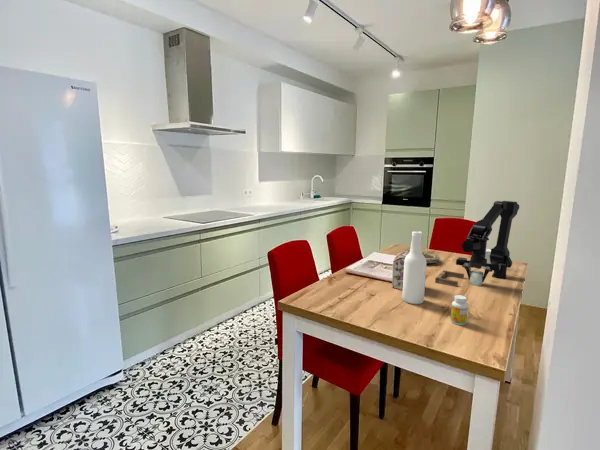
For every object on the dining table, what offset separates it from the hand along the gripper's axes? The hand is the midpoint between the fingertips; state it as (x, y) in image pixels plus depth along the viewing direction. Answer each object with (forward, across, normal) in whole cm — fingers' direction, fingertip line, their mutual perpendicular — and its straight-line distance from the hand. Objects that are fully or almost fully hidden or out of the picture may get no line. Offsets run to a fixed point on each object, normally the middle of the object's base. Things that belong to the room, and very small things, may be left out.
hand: (476, 280), depth 164 cm
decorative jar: (+2, -25, -25) cm, 35 cm away
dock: (+2, -12, -2) cm, 12 cm away
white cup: (+2, -2, +35) cm, 35 cm away
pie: (+2, -34, +25) cm, 42 cm away
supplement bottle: (+2, +2, -50) cm, 50 cm away
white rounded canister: (+2, 0, 0) cm, 2 cm away
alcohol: (+2, -18, -40) cm, 44 cm away
